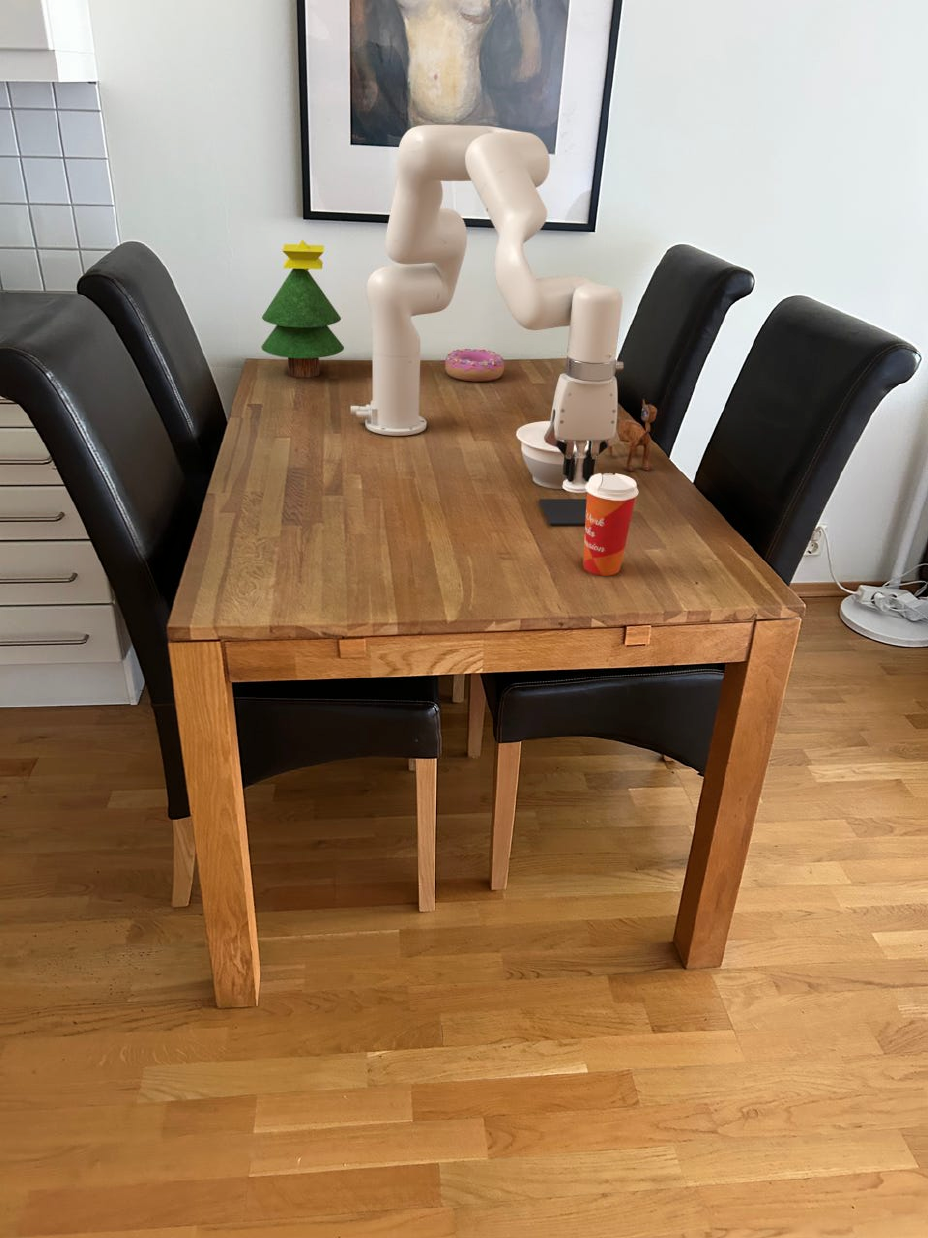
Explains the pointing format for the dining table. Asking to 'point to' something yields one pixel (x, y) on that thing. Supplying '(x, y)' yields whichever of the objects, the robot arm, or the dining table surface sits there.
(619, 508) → the paper cup
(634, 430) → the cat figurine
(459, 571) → the dining table surface
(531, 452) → the bowl
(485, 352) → the donut
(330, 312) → the decorative tree
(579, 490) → the chess piece
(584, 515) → the coaster
